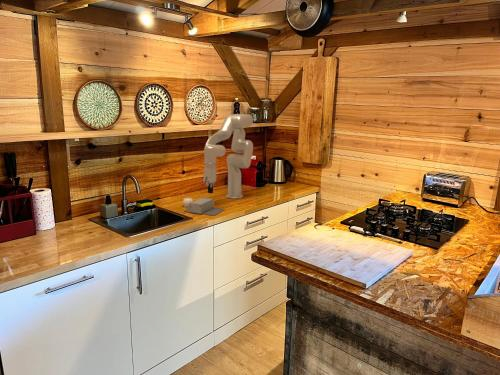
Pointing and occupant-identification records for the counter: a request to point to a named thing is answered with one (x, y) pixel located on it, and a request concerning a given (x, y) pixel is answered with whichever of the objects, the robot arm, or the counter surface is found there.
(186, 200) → the white round piece
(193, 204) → the skincare box
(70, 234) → the counter surface
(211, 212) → the mat
